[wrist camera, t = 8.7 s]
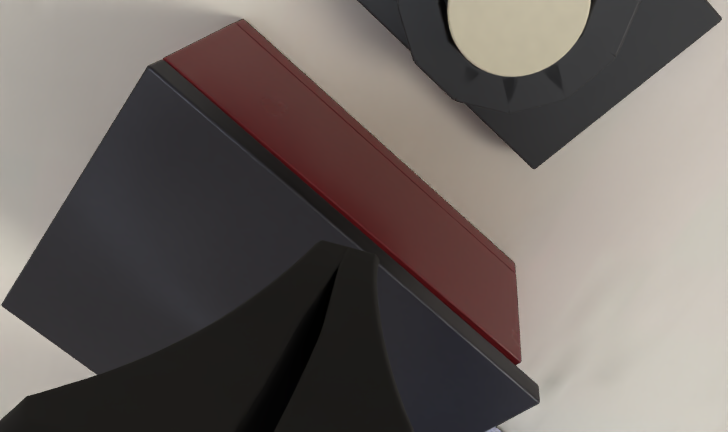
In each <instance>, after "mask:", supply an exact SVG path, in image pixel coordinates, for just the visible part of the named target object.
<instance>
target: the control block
mask: <svg viewBox="0 0 728 432" xmlns="http://www.w3.org/2000/svg"><path fill="white" fill-rule="evenodd" d="M357 1H359V2H360V3H361V4H362V5H363V6H364V7H365V8H366V9H367V10H368V11H369V12H370V13H371V14H372V15H373V16H374V17H375V18H376V19H377V20H378V21H379V22H380V23H381V24H382V25H384V26H385V27H386V28H387V29H388V30H389V31H390V32H391V33H392V34H393V35H394V36H395V37H396V38H397V39H398V40H399V41H400V42H401V43H402V44H403V45H404V46H405V47H406V48H407V49H409V50H410V51H411V55H412V58H413V61H415V64H416V65H417V66H418V67H419V68H420V69H421V70H423V71H424V72H425V73H426V74H427V75H428V76H429V77H430V78H431V79H432V80H433V81H434V82H435V83H436V84H437V85H438V86H439V87H440V88H441V89H442V90H443V91H444V92H446V93H447V94H448V95H449V96H450V97H451V98H452V99H453V100H455V101H457V102H462V103H465V104H466V105H467V106H468V107H469V108H470V109H471V110H472V111H473V112H474V113H475V114H476V115H477V116H478V117H479V118H480V119H481V120H483V121H484V122H485V123H486V124H487V125H488V126H489V127H490V128H491V129H492V130H493V131H494V132H495V133H496V134H497V135H498V136H499V137H500V138H501V139H502V140H503V141H504V142H505V143H506V144H508V145H509V146H510V147H511V148H512V149H513V150H514V151H515V152H516V153H517V154H518V155H519V156H520V157H521V158H522V159H523V160H524V161H525V162H526V163H527V164H528V165H529V166H530V167H531V168H533V169H536V168H537V167H538V166H540V165H541V164H542V163H543V162H545V161H546V160H547V159H548V158H550V157H551V156H552V155H553V154H555V153H556V152H557V151H558V150H560V149H561V148H562V147H563V146H565V145H566V144H567V143H568V142H570V141H571V140H572V139H573V138H575V137H576V136H577V135H578V134H580V133H581V132H582V131H583V130H585V129H586V128H587V127H588V126H590V125H591V124H592V123H593V122H595V121H596V120H597V119H599V118H600V117H601V116H602V115H604V114H605V113H606V112H607V111H609V110H610V109H611V108H612V107H614V106H615V105H616V104H617V103H619V102H620V101H621V100H622V99H624V98H625V97H626V96H627V95H629V94H630V93H631V92H632V91H634V90H635V89H636V88H637V87H639V86H640V85H641V84H642V83H644V82H645V81H646V80H647V79H649V78H650V77H651V76H652V75H654V74H655V73H656V72H657V71H659V70H660V69H661V68H662V67H664V66H665V65H666V64H667V63H669V62H670V61H671V60H672V59H674V58H675V57H676V56H678V55H679V54H680V53H681V52H683V51H684V50H685V49H686V48H688V47H689V46H690V45H691V44H693V43H694V42H695V41H696V40H698V39H699V38H700V37H701V36H703V35H704V34H705V33H706V32H708V31H709V30H710V29H711V28H713V27H714V26H715V25H716V24H718V23H719V22H720V21H721V20H722V18H721V16H720V15H719V14H718V13H717V12H716V11H715V9H714V8H713V7H712V6H711V5H710V4H709V2H708V1H707V0H591V5H590V10H589V15H588V18H587V22H586V25H585V27H584V29H583V31H582V33H581V35H580V37H579V38H578V40H577V41H576V43H575V44H574V45H573V47H572V48H571V49H570V50H569V51H568V52H567V53H566V54H565V55H564V56H563V57H562V58H561V59H559V60H558V61H557V62H556V63H554V64H552V65H551V66H549V67H548V68H545V69H543V70H541V71H539V72H536V73H533V74H530V75H525V76H517V77H505V76H499V75H494V74H491V73H488V72H486V71H483V70H481V69H479V68H478V67H476V66H475V65H473V64H472V63H471V62H470V61H468V60H467V59H466V58H465V57H464V55H463V54H462V53H461V52H460V50H459V49H458V47H457V46H456V44H455V42H454V40H453V38H452V35H451V32H450V29H449V24H448V16H447V6H448V0H357Z"/></svg>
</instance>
